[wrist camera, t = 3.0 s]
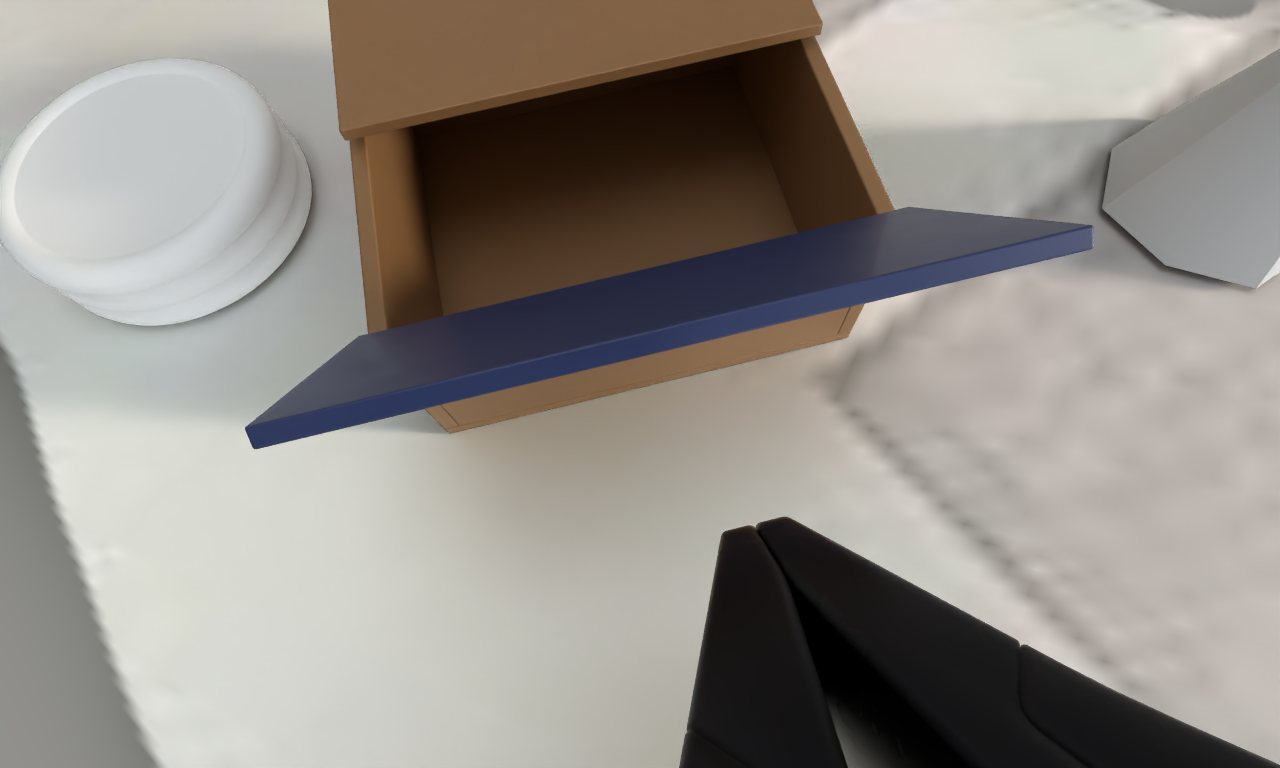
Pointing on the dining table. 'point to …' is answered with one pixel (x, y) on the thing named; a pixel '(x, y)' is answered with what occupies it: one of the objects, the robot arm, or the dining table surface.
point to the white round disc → (154, 192)
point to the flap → (656, 313)
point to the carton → (587, 160)
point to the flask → (1207, 180)
